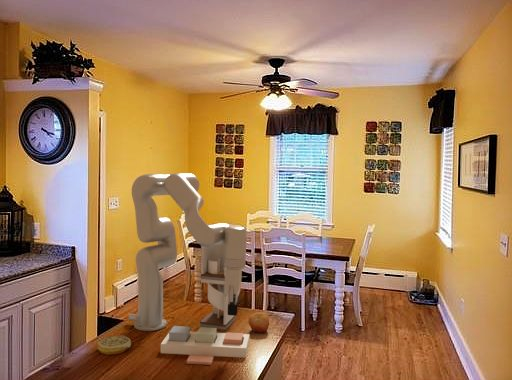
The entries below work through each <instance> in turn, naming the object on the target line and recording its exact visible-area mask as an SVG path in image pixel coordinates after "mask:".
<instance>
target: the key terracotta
mask: <svg viewBox="0 0 512 380" xmlns="http://www.w3.org/2000/svg"><path fill="white" fill-rule="evenodd" d="M225 333H226V335H225V337H224V344H236V345H242V344H243V334H244V333H243V332H229V331H228V332H225Z"/></svg>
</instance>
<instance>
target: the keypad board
mask: <svg viewBox="0 0 512 380" xmlns="http://www.w3.org/2000/svg"><path fill="white" fill-rule="evenodd" d="M197 332H198V331H191V330H190V337H189V338H188V340H187V342H178V341H169V332H168V333H167V334H166V336H165V337H164V339H163V340H162V342H161V343H160V354H170V355H171V354H172V355H174V354H175V355H188V356H190V354H193V355H212V356H214V357H225V358H226V357H229V358H245V359H246V358H247V355H248V351H249V347H250V337H251V336H250V333H243V344H242V345H236V344H224V337H225V335H226V332H217V337H216V339H215V341H214V343H197V342H196V333H197Z"/></svg>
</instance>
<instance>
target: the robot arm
mask: <svg viewBox="0 0 512 380" xmlns="http://www.w3.org/2000/svg"><path fill="white" fill-rule="evenodd" d="M199 189H200V181H199V179H198V177H197V176H196V175H194V174H193V173H189V172H188V173H187V172H186V173H184V172H183V173H182V172H181V173H180V172H174V173H146V174H142V175H139V176H138V177H136V179H135V180H134V181H133V183H132V186H131V197H132V198H131V199H132V201H133V205H134V211H135V213H134V214H135V222H136V223H135V224H136V225H135V226H136V234H137V238H138V240H139V241H140V242H142V243H143V244H144V243H145V244H146V243H147V244H149V243H157V244H153V245H148V246H145V247H143V248H140V249H138V251H137V253H136V254H135V266H136V269H137V289H138V291H137V292H138V293H137V297H138V298H137V299H138V300H137V305H138V307H137V310H138V311H137V313H128V315H127V318H128V321H135V322H133V327H134V328H135V329H136V330H138V331H141V332H152V331H153V332H154V331H158V330H162V329H164V328H165V327H166V326H167V324H168V323H167V320H166V319H165V318H163V317H164V315H163V314H164V280H163V279H164V278H163V276H162V274H161V272H160V269H164V268H167V267H170V266H172V265H174V264H175V263H176V262H177V259H178V248H177V247H178V246H177V235H176V229H175V228H176V227H175V225H174V223H173V221H172V219H170V218H168V217H167V216H160V217H159V214H158V206H157V203H156V201H155V200H154V198H152V197H154V196H155V197H156V196H170V198H171V199H172V201H174V202H175V203H176V204H177V206H178V207H179V208H180V209H181V211H182V212H183V213H184V222H185V227H186V229H187V231H188V234H190V235H191V236H192V238H193V239H194V240H195V241H196V242H197V243H198V244H199V245H200V246H201V245H202V246H204V247H212V246H217V245H222V244H224V267H225V268H226V272H225V283H224V297H226V296H227V295H228V315H234V316H235V317H236V316H237V315H238V308H239V307H238V305H239V304H238V297H239V295H240V292H241V290H242V289H241V288H242V277H243V275H242V273H243V272H242V271H243V269H245V268H246V259H247V257H246V256H247V255H246V254H247V237H248V236H247V235H248V232H247V229H246V228H245V227H243V226H238V225H231V224H229V223H225V222H220V223H219V222H218V223H212V224H207V223H206V221H205V220H204V219H203V217H201V214H200V213H199V211H200V210H201V209H202V207H203V206H204V204H205V203H204V201H205V200H204V197H202V196H201V194H200V193H198V191H199Z"/></svg>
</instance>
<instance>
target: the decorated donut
mask: <svg viewBox="0 0 512 380" xmlns="http://www.w3.org/2000/svg"><path fill="white" fill-rule="evenodd" d="M131 345H132V341H131V339H130V338H129V337H128V336H126V335H111V336H105V337H103V338H101V339H100V340H99V341H98V342H97V350H98V351H99V352H100V353H101V354H103V355H106V356H107V355H108V356H113V355H119V354H122V353H125V352H126V351H127V350H128V349H129V348H131Z"/></svg>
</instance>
